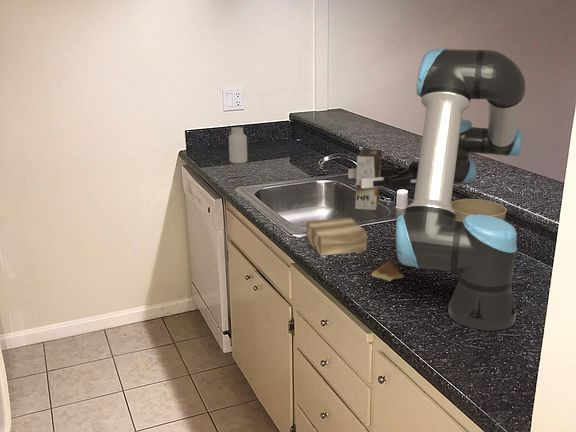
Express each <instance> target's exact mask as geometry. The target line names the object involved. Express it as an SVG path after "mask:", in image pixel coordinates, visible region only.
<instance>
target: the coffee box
mask: <svg viewBox="0 0 576 432" xmlns="http://www.w3.org/2000/svg"><path fill="white" fill-rule="evenodd" d="M381 166H382V150H381V149H374V148H373V149H369V148H368V149H366V148H363V149H362V148H361V149H360V150H359V152H358V154H357V155H356V168H357V174H356V178H355V180H356V181H355V182H356V183H355V184H356V185H355V202H354V204H355V207H354V208H355V210H367V211H368V210H369V211H370V210H371V211H376V210H377V208H378V206H379V203H380V194H381V193H380V192H381V187H375V188H361V179H363V178H377V177H380V174H381Z"/></svg>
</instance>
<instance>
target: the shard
mask: <svg viewBox="0 0 576 432" xmlns="http://www.w3.org/2000/svg"><path fill="white" fill-rule="evenodd" d="M371 276H372V277H374V278H378V279H382V280H385V281H387V282H391V281H393V280H398V279H403V278H404V277H405V276H404V273H403V272H402V271H401V270H400V268H399V267H398V266H397V264H395V263H394V262H393V260H392V259H390V260H389V261H387V262H386V263H384V264H381V265H380V266H379V267H377V268H375V269H374V270H373V271H372V272H371Z"/></svg>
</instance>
